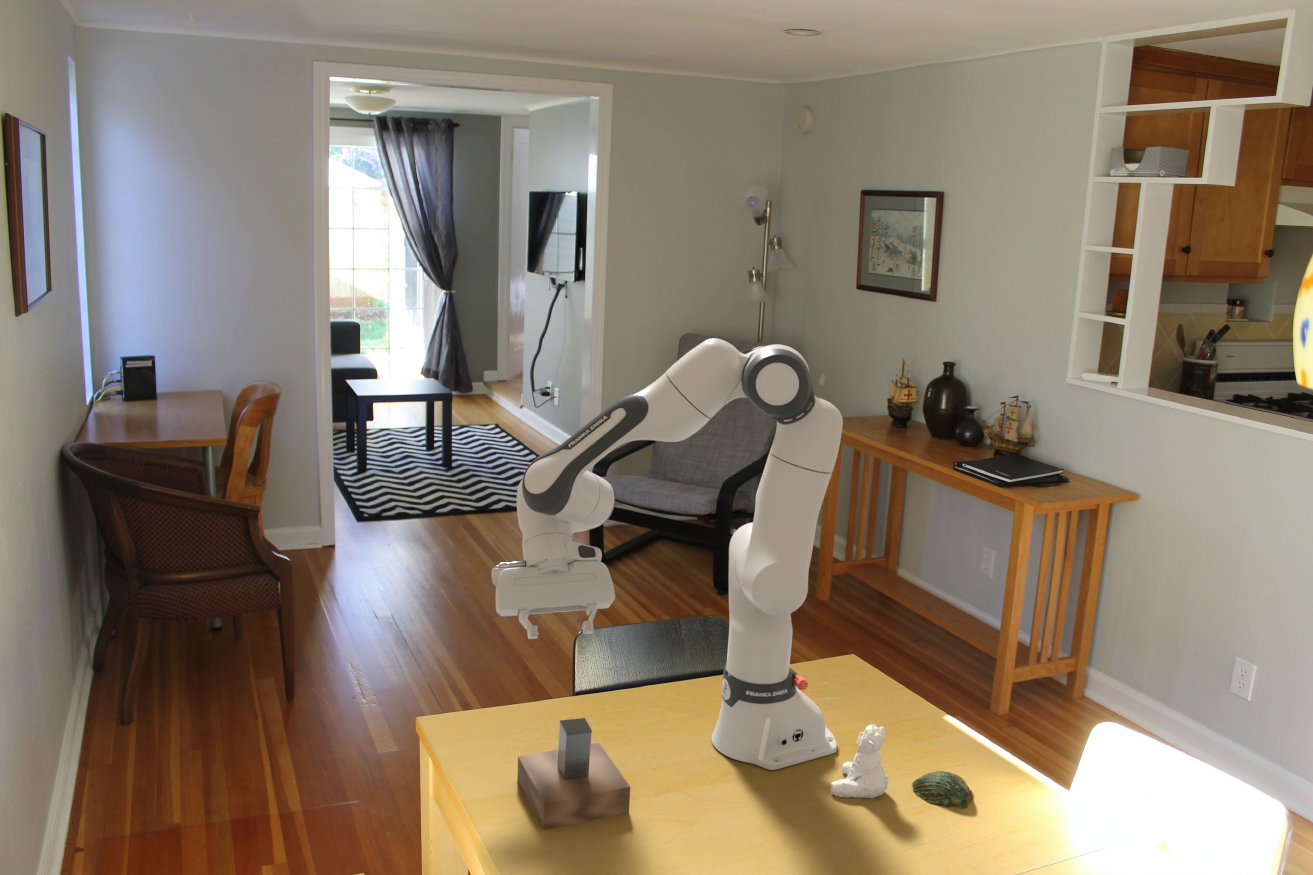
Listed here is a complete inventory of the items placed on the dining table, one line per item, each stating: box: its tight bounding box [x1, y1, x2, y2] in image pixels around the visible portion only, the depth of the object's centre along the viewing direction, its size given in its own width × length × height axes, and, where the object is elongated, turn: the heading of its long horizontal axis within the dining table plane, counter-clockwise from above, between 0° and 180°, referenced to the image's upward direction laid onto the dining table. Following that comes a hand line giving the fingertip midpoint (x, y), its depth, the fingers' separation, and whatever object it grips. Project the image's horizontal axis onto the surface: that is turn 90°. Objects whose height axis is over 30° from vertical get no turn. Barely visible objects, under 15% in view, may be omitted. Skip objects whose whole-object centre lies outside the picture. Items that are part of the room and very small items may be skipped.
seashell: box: [911, 770, 974, 809], centre depth 169 cm, size 10×4×10 cm
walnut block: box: [516, 742, 631, 831], centre depth 161 cm, size 14×14×5 cm
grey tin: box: [557, 717, 593, 780], centre depth 159 cm, size 4×4×8 cm
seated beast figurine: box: [830, 724, 889, 799], centre depth 167 cm, size 10×9×12 cm
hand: (561, 635), depth 168 cm, fingers open, 8 cm apart
